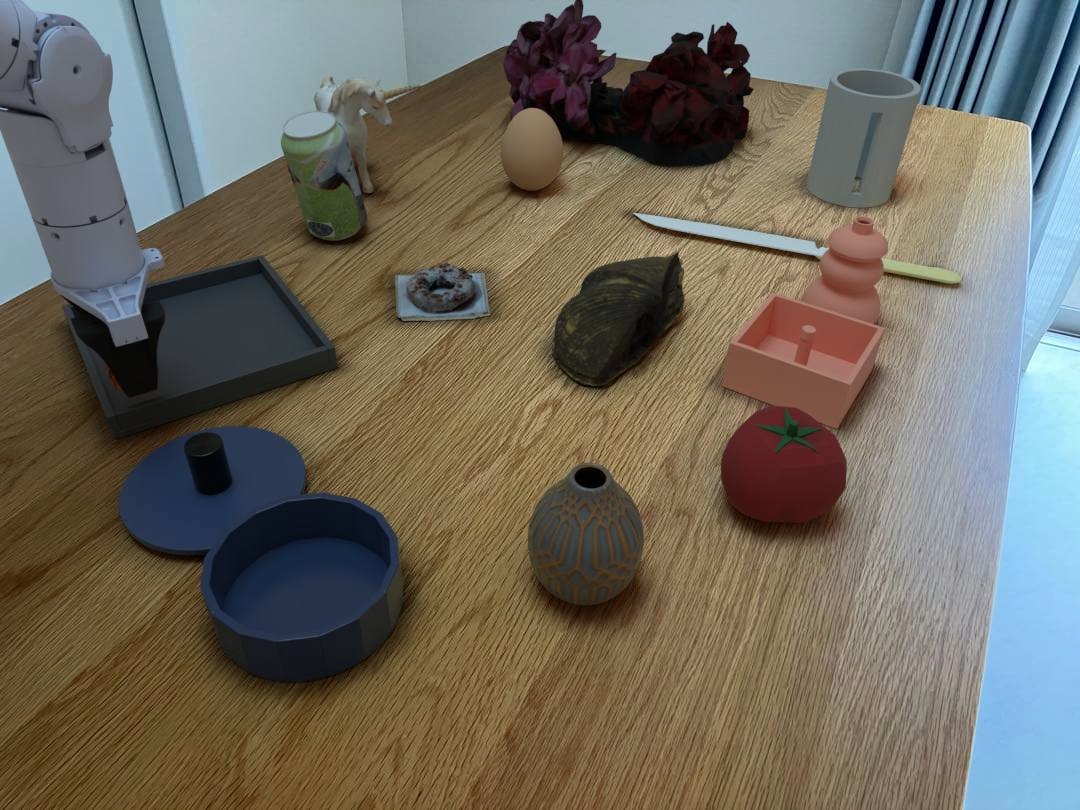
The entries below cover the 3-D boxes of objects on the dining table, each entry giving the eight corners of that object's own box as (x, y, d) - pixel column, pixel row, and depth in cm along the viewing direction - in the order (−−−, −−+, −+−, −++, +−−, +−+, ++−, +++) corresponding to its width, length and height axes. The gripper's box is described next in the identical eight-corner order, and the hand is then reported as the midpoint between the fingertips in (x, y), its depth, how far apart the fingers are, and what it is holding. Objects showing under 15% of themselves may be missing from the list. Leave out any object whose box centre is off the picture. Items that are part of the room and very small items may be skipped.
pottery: (837, 429, 67) (870, 319, 61) (721, 386, 71) (741, 279, 65) (900, 321, 79) (934, 221, 73) (799, 289, 83) (822, 192, 77)
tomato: (852, 530, 59) (880, 448, 55) (743, 554, 57) (763, 471, 53) (792, 452, 65) (813, 373, 60) (692, 472, 63) (706, 392, 59)
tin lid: (148, 590, 54) (127, 538, 51) (104, 474, 62) (85, 423, 59) (334, 516, 59) (326, 465, 56) (273, 417, 67) (262, 368, 64)
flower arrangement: (749, 120, 116) (770, -2, 107) (736, 181, 101) (760, 46, 92) (520, 93, 122) (521, -25, 113) (476, 148, 107) (473, 17, 98)
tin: (250, 716, 47) (237, 674, 45) (192, 579, 55) (178, 536, 52) (434, 627, 52) (431, 585, 50) (359, 512, 59) (352, 470, 57)
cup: (858, 168, 105) (885, 65, 98) (906, 202, 98) (939, 93, 91) (791, 177, 103) (814, 72, 95) (835, 212, 96) (863, 101, 88)
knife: (635, 204, 95) (624, 215, 91) (961, 262, 87) (965, 276, 83) (634, 216, 96) (623, 227, 92) (957, 274, 87) (961, 289, 83)
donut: (394, 322, 77) (392, 302, 76) (395, 276, 83) (394, 257, 82) (490, 318, 78) (490, 298, 77) (484, 273, 84) (484, 254, 83)
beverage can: (380, 228, 91) (369, 112, 83) (330, 257, 86) (313, 137, 78) (334, 212, 93) (319, 98, 86) (283, 239, 88) (262, 121, 81)
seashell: (629, 399, 69) (616, 319, 65) (532, 383, 74) (515, 308, 70) (710, 301, 80) (703, 228, 76) (621, 293, 84) (611, 224, 81)
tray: (114, 439, 64) (106, 417, 63) (69, 326, 76) (61, 305, 74) (338, 368, 72) (334, 346, 70) (266, 274, 83) (262, 254, 82)
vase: (580, 521, 59) (587, 420, 54) (660, 580, 55) (677, 477, 50) (503, 577, 55) (503, 474, 50) (584, 644, 51) (593, 540, 46)
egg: (550, 206, 95) (553, 124, 90) (491, 196, 97) (491, 115, 92) (569, 181, 101) (572, 102, 95) (513, 171, 102) (513, 94, 97)
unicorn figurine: (369, 228, 90) (355, 98, 82) (288, 163, 102) (269, 43, 94) (430, 211, 94) (422, 83, 86) (345, 149, 106) (331, 32, 98)
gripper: (173, 238, 54) (218, 411, 63) (119, 155, 64) (164, 315, 72) (48, 268, 51) (113, 445, 60) (11, 175, 61) (71, 340, 69)
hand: (135, 376), depth 66 cm, fingers closed on meatball, 4 cm apart
